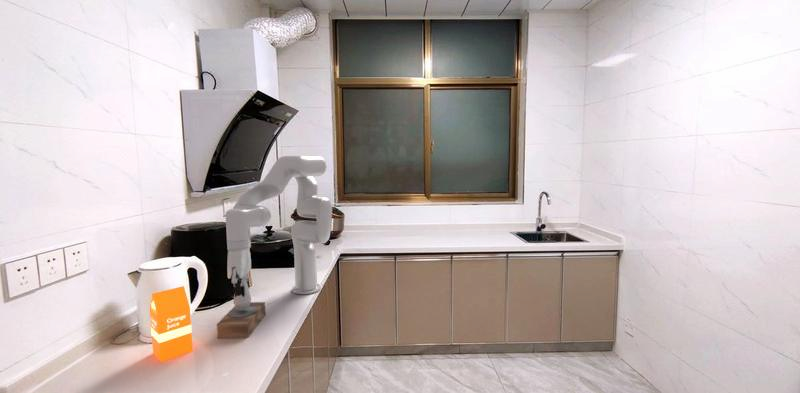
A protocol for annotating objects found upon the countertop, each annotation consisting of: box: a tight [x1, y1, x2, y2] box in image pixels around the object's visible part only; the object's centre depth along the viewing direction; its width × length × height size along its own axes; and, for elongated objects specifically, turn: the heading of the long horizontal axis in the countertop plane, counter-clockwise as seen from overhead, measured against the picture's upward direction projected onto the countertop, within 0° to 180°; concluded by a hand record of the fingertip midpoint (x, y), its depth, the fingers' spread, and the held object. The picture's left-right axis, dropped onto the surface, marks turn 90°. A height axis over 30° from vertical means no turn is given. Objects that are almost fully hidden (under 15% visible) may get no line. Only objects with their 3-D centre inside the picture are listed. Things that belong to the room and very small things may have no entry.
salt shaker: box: [233, 273, 252, 310], centre depth 130 cm, size 6×6×13 cm
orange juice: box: [149, 285, 194, 363], centre depth 113 cm, size 8×9×20 cm
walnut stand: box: [216, 301, 267, 340], centre depth 131 cm, size 18×10×6 cm, turn 2°
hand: (241, 294), depth 130 cm, fingers closed on salt shaker, 3 cm apart
